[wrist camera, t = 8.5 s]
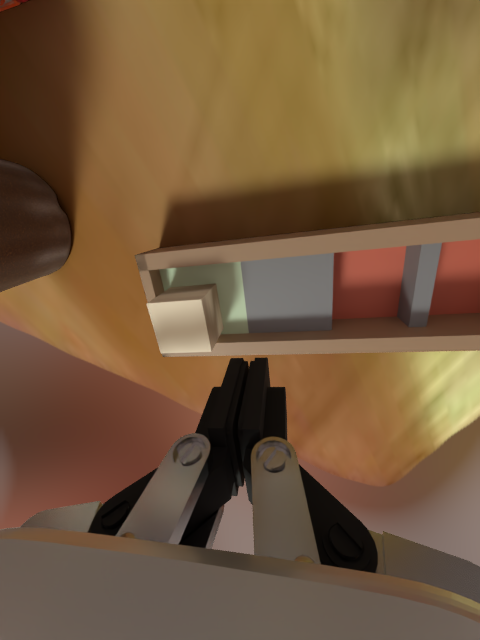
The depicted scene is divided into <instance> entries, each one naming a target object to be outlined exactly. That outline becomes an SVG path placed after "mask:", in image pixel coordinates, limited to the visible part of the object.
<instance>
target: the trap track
mask: <svg viewBox="0 0 480 640" xmlns="http://www.w3.org/2000/svg"><path fill="white" fill-rule="evenodd" d="M135 258H136V262H137V265H138V269H139V273H140V276H141V280H142V284H143V287H144V291H145V294H146V298H147V302H150V301H151V300H153V299H154V298H155V297H157V296H158V295H160V294H161V293H163V292H164V291H166V290H167V289H169V288H170V287H182V286H193V285H204V284H216V286H217V292H218V298H219V304H220V310H221V316H222V321H223V327H224V328H223V330H222V332H221V334H220V336H219V338H218V340H217V342H216V344H215V346H214V348H213V350H212V352H191V353H162V356H163V357H177V356H227V355H276V354H326V353H376V352H425V351H475V350H480V212H476V213H467V214H458V215H449V216H440V217H431V218H422V219H413V220H404V221H395V222H386V223H377V224H369V225H360V226H351V227H342V228H333V229H324V230H315V231H306V232H297V233H288V234H279V235H270V236H262V237H253V238H244V239H235V240H226V241H217V242H208V243H199V244H190V245H181V246H172V247H163V248H157V249H154V250H151V251H147V252H144V253H140V254H137V255H135Z"/></svg>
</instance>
